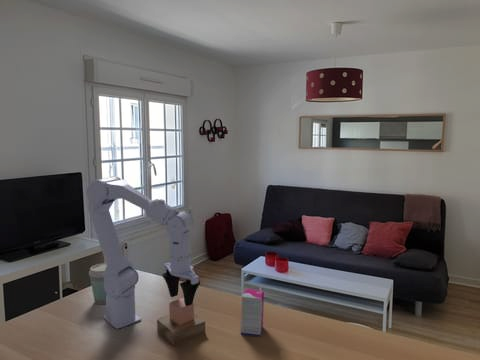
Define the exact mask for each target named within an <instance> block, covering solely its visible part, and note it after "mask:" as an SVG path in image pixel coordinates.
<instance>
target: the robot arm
mask: <svg viewBox="0 0 480 360" xmlns="http://www.w3.org/2000/svg"><path fill="white" fill-rule="evenodd" d="M85 194H86V196H87V201H88V203H87V208H88V213H89V217H90V219H91V222H92V225H93V228H94V231H95V234H96V237H97V240H98V243H99V246H100V249H101V252H102V256H103V258H104V260H105V263H106V264H107V266H106V269H105V271H104V273H103V277H104V289H105V291H106V293H107V296H106V304H105V305H106V306H105V309H106V315H104V316H103V318H104V320H106V321H107V322H108V323H109V324H110V325H111V326H113V327H114V328H115V329H117V330H118V329H119V330H120V328H123V327H124V328H125V327H126V326H128V325H133V324H135V323H137V322H140V321H142V318H141V317H139V316H138V315H137V314H136V298H135V297H136V295H135V291H136V290H135V289H136V285H137V284H138V282H139V279H140V277H139V273H138V271H137V270H136V268H135V267H134V266H133V262H132V261H131V260H129V259H126V258H125V254H124V250H123V249H122V245H121V242H120V240H119V237H118V233H117V231H116V227H115V224H114V222H113V218H112V215H111V212H110V209H111V207H112V206H113V203H114V202H115V201H116V200H117V199H123V200H124V201H127V202H129V203H130V204H132V205H134V206H136V207H139V208H141V209H142V210H144V211H145V215H146V217H148V218H149V219H151V220H153V221H154V222H156V223H158V224H159V225H161V226H163V227H165V231H166V232H167V233H168V236H169V250H170V251H169V252H170V257H169V258H170V259H169V260H170V262H169V261H168V262H166V263H164V265H163V266H164V267H163V268H164V271H166V272H164V273H162V277H163V279H164V281H165V283H166V286H167V288H168V289H167V290H168V294H169V296H170V298H174V297H177V296H178V295H179V294H178V293H179V286H180V288H181V291H182V293H183V298H184V302H185V306H189V305H192V304H193V303H194V299H195V295H196V292H197V290H198V288H199V286H200V284H201V280H200V279H199V278H200V276H199V275H197V274H196V273H195V271H194V269H195V268H194V267H193V265H191V264H192V263H191V262H192V261H191V260H192V257H191V250H192V249H191V229H192V228H193V227H194V218H193V216H192V215H191V214H190V213H189V212H188V211H186V210H179V209H178V208H177V207H175V208H174V207H173V206H171V205H170V204H167V203H166V201H165V200H164V199H162V198H160V199H159V198H156V199H151V198H149V197H148V196H147V195H145V194H143V193H142V192H141V191H139V190H137V189H136V188H134V187H133V186H132V185H130V184H129V183H128V182H127V181H126V180H125V179H122V178H121V177H119V176H116V175H114V176H110V177H105V178H101V179H94V180H92V181H90V183H89V184H88V185H87V187H86V189H85ZM180 278H181V279H182V278H183V279H184V280H185V281H183V282H180Z"/></svg>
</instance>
